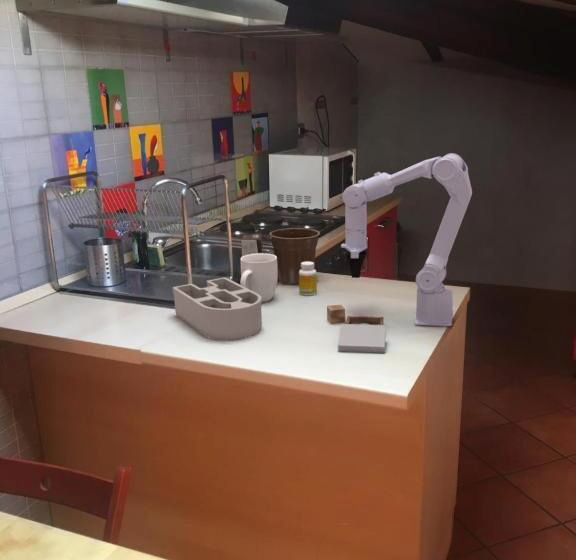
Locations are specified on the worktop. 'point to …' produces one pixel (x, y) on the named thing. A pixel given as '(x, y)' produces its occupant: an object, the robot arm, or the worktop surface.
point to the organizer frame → (365, 320)
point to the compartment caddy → (219, 309)
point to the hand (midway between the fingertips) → (355, 277)
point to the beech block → (336, 314)
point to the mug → (260, 274)
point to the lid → (362, 338)
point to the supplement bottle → (307, 279)
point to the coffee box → (251, 244)
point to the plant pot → (293, 251)
